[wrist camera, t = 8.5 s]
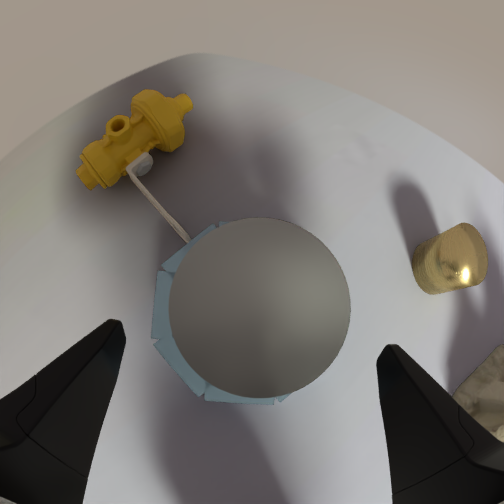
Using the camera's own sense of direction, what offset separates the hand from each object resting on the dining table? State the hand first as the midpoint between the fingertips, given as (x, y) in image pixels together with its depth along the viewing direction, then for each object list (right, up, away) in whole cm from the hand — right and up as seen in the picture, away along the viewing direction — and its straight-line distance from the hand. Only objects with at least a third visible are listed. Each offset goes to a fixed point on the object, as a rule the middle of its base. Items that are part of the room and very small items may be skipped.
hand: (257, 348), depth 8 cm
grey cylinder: (-1, -1, +10) cm, 10 cm away
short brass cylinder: (+15, +2, +11) cm, 19 cm away
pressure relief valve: (-7, +8, +12) cm, 16 cm away
